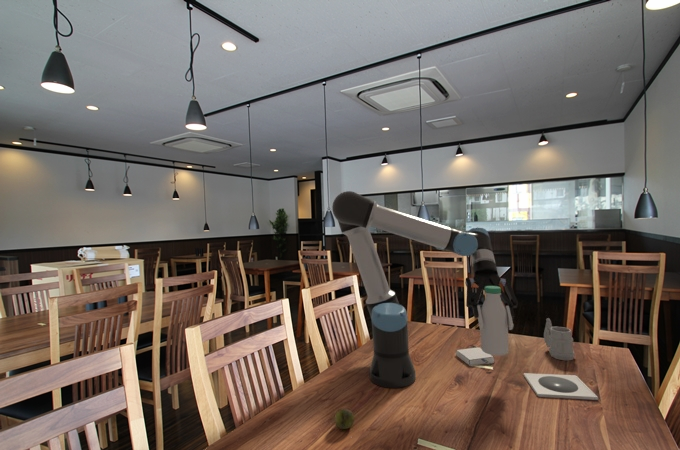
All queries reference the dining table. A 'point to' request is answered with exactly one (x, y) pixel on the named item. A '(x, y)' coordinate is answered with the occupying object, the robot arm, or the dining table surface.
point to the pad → (559, 386)
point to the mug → (559, 342)
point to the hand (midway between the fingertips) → (496, 327)
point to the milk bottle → (494, 323)
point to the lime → (344, 418)
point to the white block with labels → (475, 356)
